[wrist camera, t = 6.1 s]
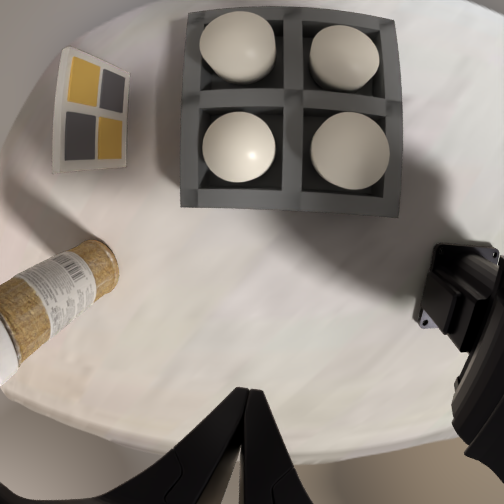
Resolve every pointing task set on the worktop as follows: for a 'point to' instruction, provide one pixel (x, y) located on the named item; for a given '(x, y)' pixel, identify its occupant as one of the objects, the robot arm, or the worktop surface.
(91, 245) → the sprinkles bottle
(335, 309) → the worktop surface
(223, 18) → the button
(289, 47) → the button board
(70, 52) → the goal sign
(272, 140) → the button
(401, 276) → the worktop surface
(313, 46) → the button
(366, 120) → the button
